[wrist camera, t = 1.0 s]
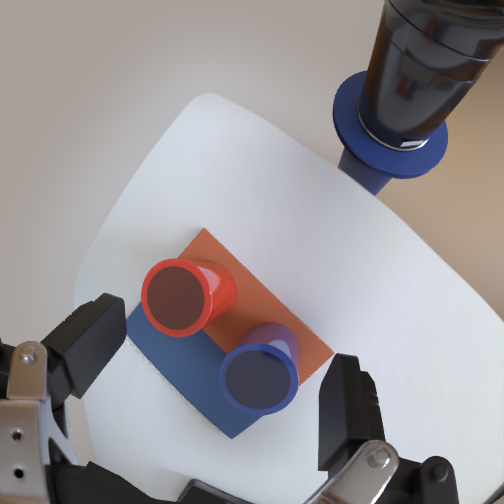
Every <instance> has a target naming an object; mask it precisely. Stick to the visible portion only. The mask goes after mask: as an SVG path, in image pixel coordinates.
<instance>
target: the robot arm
mask: <svg viewBox="0 0 504 504" xmlns="http://www.w3.org/2000/svg"><path fill="white" fill-rule="evenodd" d="M503 47H504V0H384V5H383V10H382V14H381V19H380V23H379V28H378V32H377V36H376V40H375V44H374V48H373V51H372V55H371V59H370V63H369V66H368V70H367V74H366V77H365V81H364V84H363V88H362V91H361V94H360V96H359V98H358V102H357V108H356V109H357V116H358V120H359V122H360V124H361V126H362V128H363V129H364V131H365V132H366V133H367V134H368V135H369V136H370V137H371V138H372V139H373V140H374V141H375V142H377V143H378V144H380V145H381V146H383V147H385V148H387V149H390V150H393V151H397V152H412V151H415V150H417V149H419V148H421V147H422V146H423V145H424V144H425V143H426V142H427V140H428V139H429V137H430V136H431V135H432V134H433V132H434V131H435V130H436V129H437V128H438V127H439V126H440V125H441V124H442V122H443V121H444V120H445V119H446V118H447V116H448V115H449V114H450V113H451V112H452V111H453V109H454V108H455V107H456V106H457V105H458V104H459V102H460V101H461V100H462V99H463V98H464V96H465V95H466V94H467V93H468V91H469V90H470V89H471V88H472V87H473V85H474V84H475V83H476V81H477V80H478V79H479V78H480V77H481V75H482V73H483V72H484V71H485V70H486V69H487V67H488V66H489V65H490V63H491V62H492V61H493V59H494V58H495V57H496V56H497V54H498V53H499V52H500V50H501V49H502V48H503ZM126 333H127V327H126V316H125V304H124V300H123V299H122V298H120V297H117V296H114V295H111V294H108V293H103V294H102V295H101V296H100V297H99V298H97V299H96V300H95V301H94V302H93V301H90V302H88V303H86V304H83V305H81V306H79V307H78V308H77V309H76V310H75V311H74V312H73V313H72V315H69V316H68V317H67V318H66V319H65V321H63V322H62V323H61V324H59V325H58V326H57V327H56V328H55V329H54V330H53V331H52V332H51V333H50V334H49V335H48V336H46V337H45V338H44V339H43V340H42V341H41V342H40V343H39V342H36V341H27V342H24V343H22V344H20V345H18V346H17V347H14V346H10V345H7V344H3V343H2V341H1V339H0V504H195V503H183V502H173V501H165V500H158V499H154V498H151V497H150V496H148V495H146V494H145V493H143V492H142V491H141V490H139V489H138V488H136V487H135V486H133V485H132V484H130V483H129V482H128V481H126V480H125V479H124V478H122V477H121V476H119V475H117V474H115V473H113V472H111V471H109V470H106V469H105V468H103V467H101V466H99V465H96V464H95V463H93V462H91V461H89V463H88V464H87V466H80V465H79V461H78V458H77V455H76V453H75V450H74V448H73V444H72V439H71V432H70V423H69V414H68V403H67V400H66V399H67V397H68V396H69V395H70V394H71V395H73V396H75V397H77V398H78V399H81V398H82V396H83V395H84V394H85V392H86V391H87V390H88V388H89V387H90V386H91V384H92V383H93V382H94V380H95V379H96V378H97V376H98V375H99V374H100V372H101V371H102V370H103V368H104V367H105V366H106V365H107V363H108V362H109V361H110V359H111V358H112V357H113V356H114V354H115V353H116V352H117V351H118V349H119V348H120V347H121V345H122V344H123V342H124V340H125V338H126ZM378 404H379V402H378V397H377V392H376V387H375V382H374V381H373V379H372V378H371V376H370V375H369V374H368V372H365V371H360V366H359V360H358V357H357V356H352V355H346V354H340V353H337V354H336V355H335V356H334V358H333V360H332V362H331V364H330V367H329V369H328V371H327V373H326V375H325V377H324V379H323V381H322V383H321V386H320V391H319V448H318V471H328V479H327V480H326V481H325V482H324V483H323V484H322V485H321V486H320V487H319V488H318V489H317V490H316V491H315V492H314V493H313V494H312V495H311V496H310V497H309V498H308V499H307V500H306V501H305V502H304V503H303V504H459V499H458V492H457V485H456V479H455V474H454V469H453V467H452V465H451V463H450V462H449V461H448V460H447V459H445V458H443V457H440V456H432V457H430V458H428V459H427V460H425V461H424V462H423V463H419V462H415V461H411V460H407V459H403V458H401V457H399V456H398V453H397V451H396V450H395V448H394V447H393V446H392V445H390V444H389V443H387V442H386V440H385V435H384V429H383V423H382V417H381V412H380V407H379V406H378Z"/></svg>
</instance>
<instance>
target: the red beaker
mask: <svg viewBox="0 0 504 504" xmlns="http://www.w3.org/2000/svg"><path fill="white" fill-rule="evenodd" d="M236 296H237V289H236V283H235V281H234V278H233V276H232V275H231V273H230V272H229V271H228V270H227V269H226V268H225V267H223V266H221V265H219V264H217V263H213V262H206V261H196V260H186V259H167V260H164V261H162V262H160V263H158V264H157V265H155V266H154V267H153V268H152V269H151V270H150V271H149V273H148V274H147V276H146V278H145V280H144V283H143V286H142V293H141V298H142V305H143V309H144V312H145V314H146V316H147V318H148V319H149V321H150V322H151V323H152V325H153V326H154V327H155V328H157V329H158V330H159V331H161V332H162V333H164V334H167V335H169V336H173V337H185V336H189V335H192V334H194V333H196V332H197V331H199V330H201V329H203V328H205V327H206V326H208V325H210V324H212V323H213V322H215V321H217V320H219V319H220V318H222V317H224V316H225V315H226V314H228V313H229V312H230V310H231V309H232V307H233V306H234V304H235V301H236Z"/></svg>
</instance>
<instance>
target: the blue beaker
mask: <svg viewBox="0 0 504 504" xmlns="http://www.w3.org/2000/svg"><path fill="white" fill-rule="evenodd" d="M299 364H300V347H299V343H298V340H297V339H296V337H295V335H294V334H293V333H292V332H291V331H290V330H289V329H288V328H286V327H284V326H282V325H280V324H276V323H263V324H259V325H257V326H255V327H253V328H251V329H250V330H249V331H248V332H247V333H246V334H245V335H244V336H243V338H242V339H241V340H240V341H239V342H238V343H237V344H236V345H235V347H234V348H233V349H232V350H231V351H230V352H229V353H228V354H227V355H226V356H225V358H224V359H223V361H222V363H221V365H220V368H219V372H218V382H219V386H220V389H221V392H222V394H223V395H224V397H225V398H226V399H227V401H228V402H229V403H230V404H231V405H233V406H234V407H235V408H237V409H239V410H241V411H243V412H245V413H248V414H253V415H268V414H272V413H275V412H278V411H280V410H282V409H283V408H285V407H286V406H287V405H288V404H289V403H290V402H291V401H292V400H293V399H294V397H295V395H296V393H297V390H298V386H299Z"/></svg>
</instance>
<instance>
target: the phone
mask: <svg viewBox="0 0 504 504" xmlns="http://www.w3.org/2000/svg"><path fill="white" fill-rule="evenodd" d="M176 502H183V503H195V504H252V503H249V502H246V501H244V500H241V499H239V498H236V497H234V496H231V495H229V494H227V493H224V492H222V491H220V490H217V489H215V488H213V487H211V486H209V485H207V484H205V483H203V482H201V481H198V480H191V481H190V482H189V484H188V485H187V487H186V488H185V489H184V491H183V492H182V494H181V495H180V497H179V498H178V500H177V501H176Z"/></svg>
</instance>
